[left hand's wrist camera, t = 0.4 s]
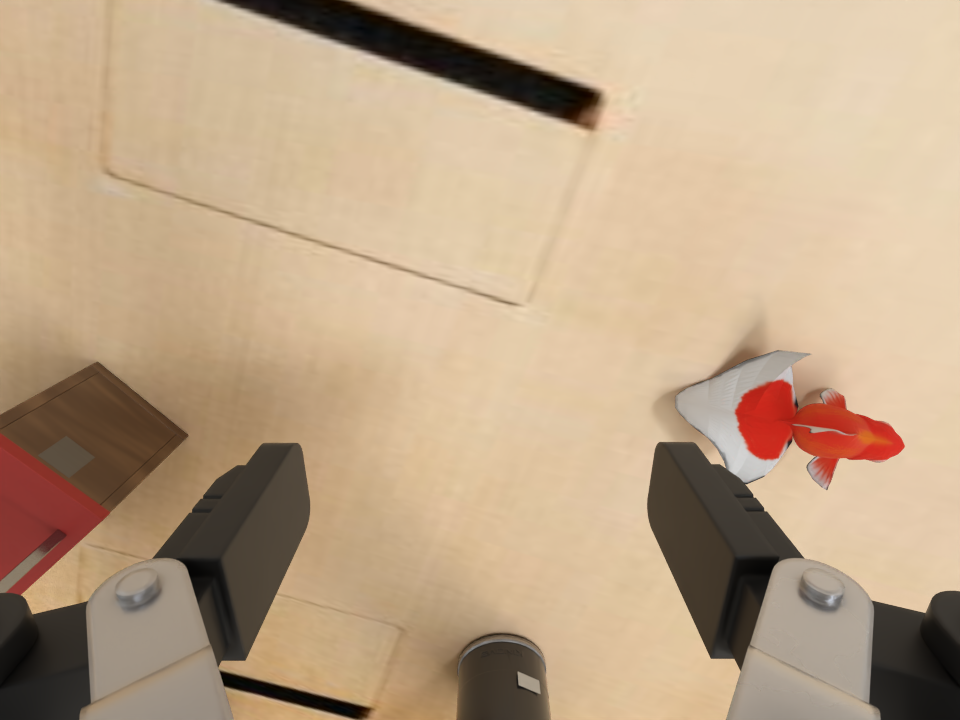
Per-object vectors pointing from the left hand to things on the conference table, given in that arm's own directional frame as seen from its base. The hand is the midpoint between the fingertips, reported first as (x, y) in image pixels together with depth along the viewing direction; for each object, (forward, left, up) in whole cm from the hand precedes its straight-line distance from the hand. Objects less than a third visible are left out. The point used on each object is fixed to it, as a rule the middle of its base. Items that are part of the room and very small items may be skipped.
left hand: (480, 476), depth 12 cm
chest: (-16, +34, -29) cm, 48 cm away
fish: (-13, -23, -29) cm, 39 cm away
